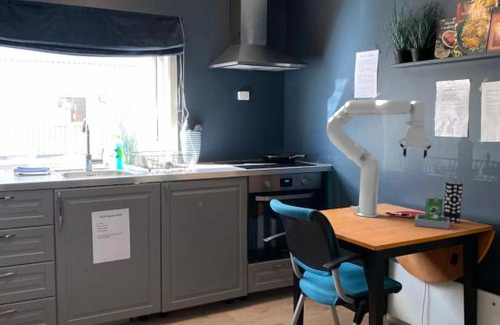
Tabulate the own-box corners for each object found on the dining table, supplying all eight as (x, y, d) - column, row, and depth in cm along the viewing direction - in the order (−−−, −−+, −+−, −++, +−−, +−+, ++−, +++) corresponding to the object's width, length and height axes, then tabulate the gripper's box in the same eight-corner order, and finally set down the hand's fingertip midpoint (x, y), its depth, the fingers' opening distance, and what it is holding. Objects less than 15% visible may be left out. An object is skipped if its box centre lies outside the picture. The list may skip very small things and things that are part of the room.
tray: (414, 226, 248) (414, 219, 248) (416, 220, 261) (416, 214, 261) (449, 229, 242) (449, 222, 242) (449, 224, 255) (449, 217, 255)
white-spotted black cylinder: (461, 223, 258) (464, 184, 256) (444, 222, 259) (447, 183, 257) (458, 220, 266) (460, 182, 264) (441, 219, 267) (444, 181, 265)
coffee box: (437, 223, 254) (439, 197, 253) (441, 224, 251) (443, 198, 250) (423, 223, 252) (425, 197, 251) (427, 224, 249) (429, 198, 248)
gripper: (398, 123, 263) (396, 156, 264) (434, 125, 256) (431, 158, 258) (400, 123, 269) (398, 155, 271) (434, 125, 263) (432, 157, 265)
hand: (414, 157), depth 265 cm, fingers open, 9 cm apart
